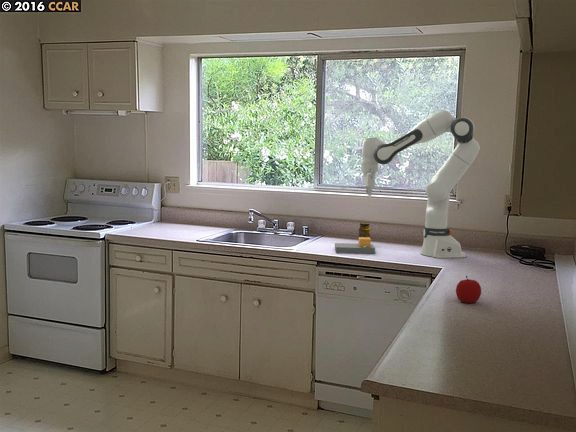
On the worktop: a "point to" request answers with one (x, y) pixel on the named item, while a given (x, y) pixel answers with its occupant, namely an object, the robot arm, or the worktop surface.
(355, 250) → the grey flat slab
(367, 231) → the condiment
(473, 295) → the apple
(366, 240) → the lockout cap
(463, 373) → the worktop surface
